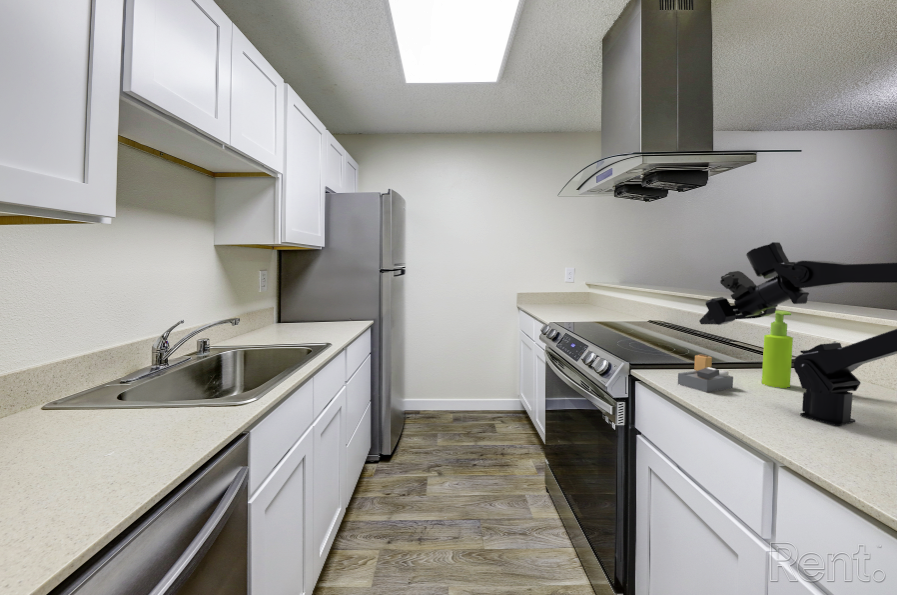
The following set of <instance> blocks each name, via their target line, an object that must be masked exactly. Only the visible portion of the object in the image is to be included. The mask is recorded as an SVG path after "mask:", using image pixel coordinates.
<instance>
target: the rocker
mask: <svg viewBox="0 0 897 595" xmlns="http://www.w3.org/2000/svg"><path fill="white" fill-rule="evenodd" d="M719 370H720V369H717V368H713V367H711V368H710V367H707V368H704V369H701V370H699V371H697V376H698V377H702V378H706V379H711V378H713V377H716V376H718V375H719Z"/></svg>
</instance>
